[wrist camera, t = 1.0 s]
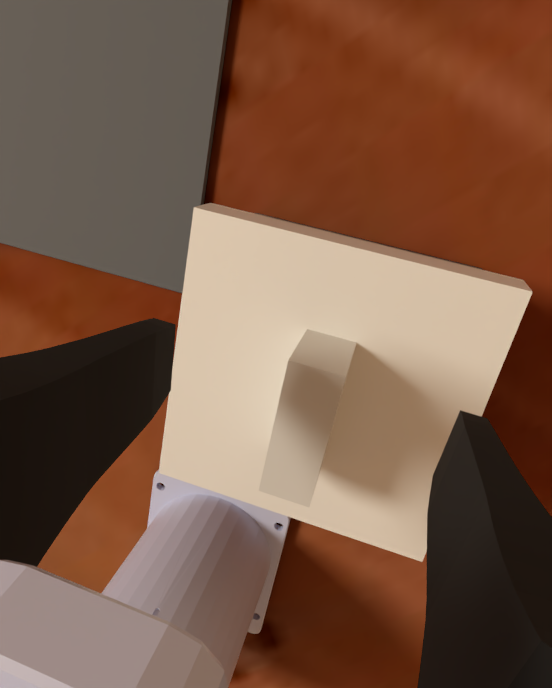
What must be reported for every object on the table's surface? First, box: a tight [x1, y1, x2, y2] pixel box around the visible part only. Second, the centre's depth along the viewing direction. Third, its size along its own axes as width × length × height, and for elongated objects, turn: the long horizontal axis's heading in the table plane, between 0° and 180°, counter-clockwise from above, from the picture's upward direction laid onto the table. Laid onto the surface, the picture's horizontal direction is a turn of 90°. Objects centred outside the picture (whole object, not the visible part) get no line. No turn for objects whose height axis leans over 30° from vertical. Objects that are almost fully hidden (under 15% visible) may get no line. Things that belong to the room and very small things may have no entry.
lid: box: [159, 203, 532, 562], centre depth 19 cm, size 11×11×5 cm
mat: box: [0, 0, 232, 293], centre depth 24 cm, size 15×15×1 cm
